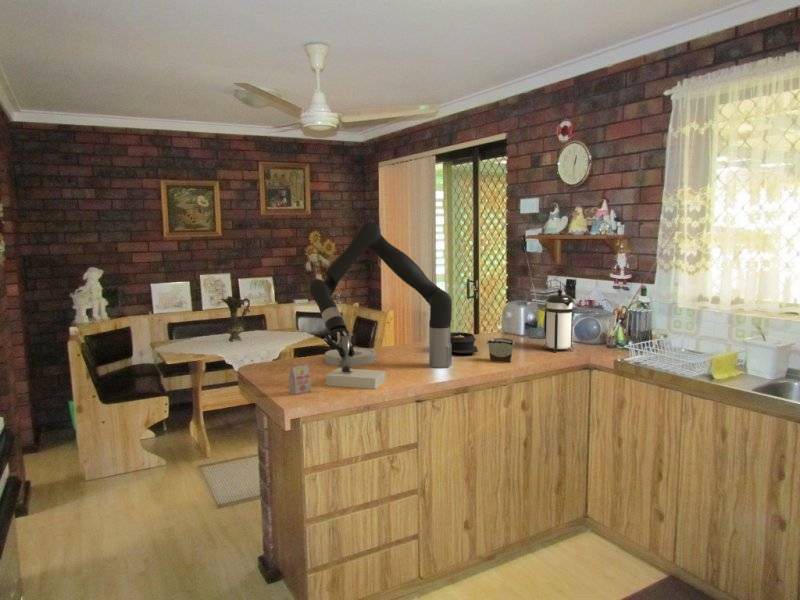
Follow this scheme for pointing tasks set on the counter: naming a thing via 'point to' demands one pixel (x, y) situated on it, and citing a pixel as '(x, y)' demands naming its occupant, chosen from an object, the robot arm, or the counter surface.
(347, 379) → the peg block
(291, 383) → the grey printed package
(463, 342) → the casserole
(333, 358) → the ashtray
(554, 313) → the coffee press
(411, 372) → the counter surface
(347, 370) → the graphite peg
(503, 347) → the food container
